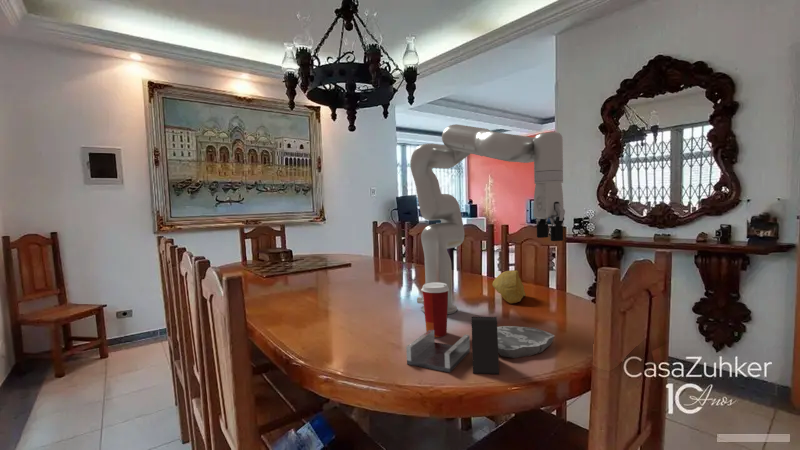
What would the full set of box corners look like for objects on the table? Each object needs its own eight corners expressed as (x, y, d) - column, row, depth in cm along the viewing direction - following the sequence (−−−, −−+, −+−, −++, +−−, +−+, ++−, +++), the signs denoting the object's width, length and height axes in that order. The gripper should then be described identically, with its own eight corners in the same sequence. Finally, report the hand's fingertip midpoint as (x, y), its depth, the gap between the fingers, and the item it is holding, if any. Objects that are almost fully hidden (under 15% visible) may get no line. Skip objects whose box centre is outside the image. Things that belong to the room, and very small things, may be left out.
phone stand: (499, 374, 90) (498, 323, 90) (472, 373, 91) (471, 323, 91) (496, 359, 99) (495, 312, 98) (472, 358, 100) (471, 311, 100)
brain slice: (513, 331, 120) (513, 321, 120) (564, 347, 106) (564, 336, 106) (466, 346, 109) (466, 335, 109) (515, 366, 95) (515, 354, 95)
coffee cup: (452, 330, 122) (451, 282, 121) (447, 339, 114) (445, 288, 113) (426, 328, 124) (425, 281, 123) (419, 337, 117) (417, 287, 116)
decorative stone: (478, 294, 156) (499, 269, 148) (495, 282, 167) (515, 258, 159) (503, 318, 151) (526, 294, 143) (518, 304, 163) (541, 281, 154)
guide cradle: (407, 364, 98) (406, 346, 98) (430, 345, 110) (430, 329, 110) (449, 372, 92) (449, 354, 92) (469, 351, 105) (469, 334, 104)
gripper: (524, 180, 118) (525, 236, 120) (547, 176, 101) (548, 243, 102) (549, 179, 119) (549, 235, 120) (576, 175, 101) (577, 241, 103)
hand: (549, 239), depth 111 cm, fingers open, 9 cm apart
